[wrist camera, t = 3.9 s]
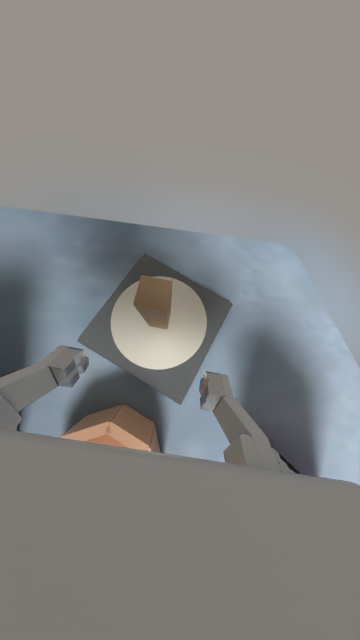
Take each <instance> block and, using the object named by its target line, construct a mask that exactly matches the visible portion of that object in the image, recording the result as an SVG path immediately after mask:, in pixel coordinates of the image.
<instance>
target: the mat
mask: <svg viewBox="0 0 360 640" xmlns="http://www.w3.org/2000/svg"><path fill="white" fill-rule="evenodd" d="M141 275H145V276H149V277H156V276H164V277H170V278H174V279H177V280H179V281H181V282H183V283H185V284H186V285H188V286H189V287H191V288H192V289H193V290H194V291H195V292H196V294H197V295H198V296H199V298H200V299H201V301H202V303H203V305H204V308H205V311H206V316H207V328H206V333H205V337H204V339H203V342H202V344H201V346H200V347H199V349H198V350H197V351H196V353H195V354H194V355H193V356H192V357H191V358H189V359H188V360H187V361H185V362H184V363H182V364H180V365H178V366H175V367H172V368H168V369H160V370H155V369H148V368H144V367H141V366H139V365H136V364H134V363H133V362H131V361H130V360H128V359H127V358H126V357H125V356H124V355H123V354H122V353H121V352H120V350H119V349H118V348H117V346H116V344H115V342H114V339H113V336H112V332H111V315H112V311H113V308H114V305H115V303H116V301H117V300H118V298H119V297H120V295H121V294H122V293H123V292H124V291H125V290H126V289H127V288H128V287H129V286H131V285H132V284H134V283H135V282H137V281H140V277H141ZM231 306H232V303H230V302H228V301H226V300H225V299H223V298H221V297H219V296H218V295H216V294H214V293H212V292H211V291H209V290H207V289H205V288H204V287H202V286H200V285H199V284H197V283H195V282H193V281H192V280H190V279H188V278H186V277H185V276H183V275H181V274H179V273H178V272H176V271H174V270H172V269H171V268H169V267H167V266H165V265H164V264H162V263H160V262H159V261H157V260H155V259H153V258H152V257H150V256H148V255H146V254H145V253H144V255H143V256H142V257H141V259H140V260H139V261H138V262H137V264H136V265H135V266H134V268H133V269H132V270H131V271H130V273H129V274H128V275H127V277H126V278H125V279H124V280H123V282H122V283H121V284H120V286H119V287H118V288H117V289H116V291H115V292H114V293H113V295H112V296H111V297H110V299H109V300H108V301H107V302H106V304H105V305H104V306H103V308H102V309H101V310H100V311H99V313H98V314H97V315H96V317H95V318H94V319H93V320H92V322H91V323H90V324H89V326H88V327H87V328H86V329H85V331H84V332H83V333H82V335H81V336H80V337H79V338H78V340H77V341H78V342H80V343H81V344H83V345H84V346H86V347H88V348H89V349H91V350H92V351H94V352H96V353H97V354H99V355H101V356H102V357H104V358H105V359H107V360H109V361H110V362H112V363H114V364H115V365H117V366H118V367H120V368H122V369H123V370H125V371H126V372H128V373H130V374H131V375H133V376H135V377H136V378H138V379H139V380H141V381H143V382H144V383H146V384H147V385H149V386H151V387H152V388H154V389H156V390H157V391H159V392H160V393H162V394H164V395H165V396H167V397H168V398H170V399H172V400H173V401H175V402H177V403H178V404H180V405H181V403H182V401H183V399H184V397H185V395H186V394H187V392H188V390H189V388H190V386H191V384H192V382H193V380H194V378H195V376H196V374H197V372H198V370H199V368H200V366H201V364H202V362H203V361H204V359H205V357H206V355H207V353H208V351H209V349H210V347H211V345H212V343H213V341H214V339H215V337H216V335H217V333H218V331H219V329H220V328H221V326H222V324H223V322H224V320H225V318H226V316H227V314H228V312H229V310H230V308H231Z"/></svg>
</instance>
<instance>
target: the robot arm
mask: <svg viewBox="0 0 360 640" xmlns="http://www.w3.org/2000/svg"><path fill="white" fill-rule="evenodd" d="M86 355H87V351H86V350H83V349H78V348H73V347H68V346H63V345H61V346H59V347H57V348H56V349H55V350H54V351H53V352H51V353H50V354H49V355H48V356H47V357H45V358H44V359H43V360H42V361H41V362H39V363H38V364H34V365H31V366H29V367H26V368H23V369H21V370H18V371H16V372H13V373H11V374H8V375H6V376H3V377H1V378H0V640H360V486H359V485H358V484H356V483H353V482H349V481H343V480H336V479H329V478H322V477H316V476H309V475H303V474H296V473H290V472H283V471H280V469H279V466H278V464H277V461H276V458H275V456H274V453H273V451H272V448H271V445H270V443H269V440H268V437H267V436H266V435H265V434H264V432H263V431H262V430H261V429H260V428H259V426H258V425H257V424H256V423H255V422H254V420H253V419H252V418H251V417H250V416H249V414H248V413H247V412H246V411H245V409H244V408H243V407H242V406H241V405H240V403H239V402H238V401H237V400H236V399H234V398H233V395H232V391H231V387H230V384H229V380H228V376H227V375H224V374H219V373H213V372H207V371H205V372H204V374H203V378H201V381H200V388H199V389H200V394H201V395H202V396H201V398H200V406H201V409H202V410H208V411H213V413H214V415H215V417H216V419H217V420H218V422H219V424H220V426H221V428H222V429H223V431H224V433H225V435H226V437H227V439H228V440H229V442H230V445H229V446H228V447H227V448H226V449H225V451H224V458H225V463H224V462H217V461H211V460H204V459H197V458H191V457H184V456H178V455H171V454H164V453H158V452H151V451H145V450H138V449H132V448H125V447H118V446H112V445H105V444H99V443H92V442H85V441H79V440H72V439H66V438H59V437H53V436H46V435H39V434H33V433H26V432H20V431H13V430H14V429H15V427H16V426H17V425H18V424H19V423H20V422H21V421H22V417H21V416H20V415H19V414H18V413H17V412H18V411H20V410H22V409H23V408H25V407H26V406H28V405H30V404H31V403H33V402H34V401H36V400H37V399H39V398H41V397H42V396H44V395H45V394H47V393H48V392H50V391H52V390H53V389H55V388H56V387H58V386H64V387H71V388H72V387H73V386H74V384H75V383H76V382H77V381H78V379H79V375H80V374H82V373H84V372H85V370H86V369H87V367H88V365H89V359H88V358H87V357H86Z"/></svg>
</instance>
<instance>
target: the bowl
mask: <svg viewBox="0 0 360 640" xmlns="http://www.w3.org/2000/svg"><path fill="white" fill-rule="evenodd" d="M59 438H66V439H72V440H79V441H85V442H92V443H99V444H105V445H112V446H118V447H125V448H132V449H138V450H145V451H151V452H158V453H161V452H160V447H159V442H158V437H157V432H156V427H155V424H154V422H153V421H151V420H149V419H148V418H146V417H145V416H143V415H141V414H140V413H138V412H137V411H135V410H134V409H132V408H130V407H129V406H127V405H126V404H125V405H124V404H122V405H118V406H115V407H112V408H109V409H105V410H102V411H99V412H96V413H92V414H89V415H87V416H86V417H84V418H83V419H82V420H81V421H79V422H78V423H77V424H76V425H74V426H73V427H72V428H71V429H69V430H68V431H67V432H65V433H64V434H63V435H62V436H60V437H59Z"/></svg>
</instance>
